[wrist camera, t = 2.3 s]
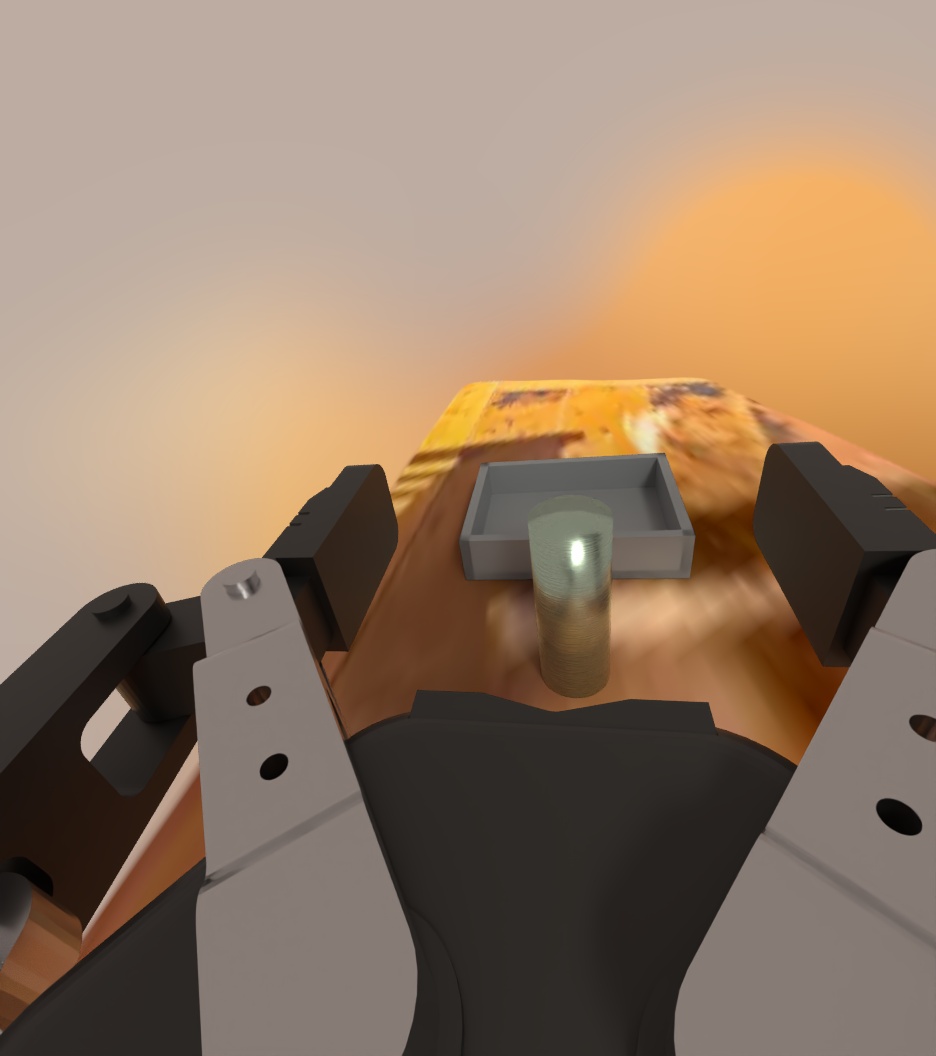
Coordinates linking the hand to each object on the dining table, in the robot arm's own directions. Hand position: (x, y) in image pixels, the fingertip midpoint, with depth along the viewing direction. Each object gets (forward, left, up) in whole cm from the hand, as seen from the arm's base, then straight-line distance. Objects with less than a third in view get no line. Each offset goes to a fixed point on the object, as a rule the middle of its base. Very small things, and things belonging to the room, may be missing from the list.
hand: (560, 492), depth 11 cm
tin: (0, -13, -21) cm, 25 cm away
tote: (0, -29, -21) cm, 36 cm away
